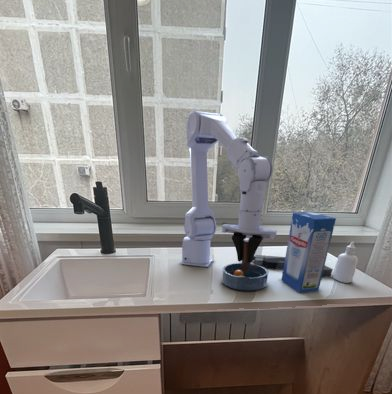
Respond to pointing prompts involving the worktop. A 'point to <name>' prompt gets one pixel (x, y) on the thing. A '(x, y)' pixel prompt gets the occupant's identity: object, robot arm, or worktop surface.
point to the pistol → (280, 263)
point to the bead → (238, 273)
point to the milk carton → (307, 250)
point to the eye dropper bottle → (346, 265)
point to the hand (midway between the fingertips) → (245, 261)
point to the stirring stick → (245, 255)
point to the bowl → (250, 282)
